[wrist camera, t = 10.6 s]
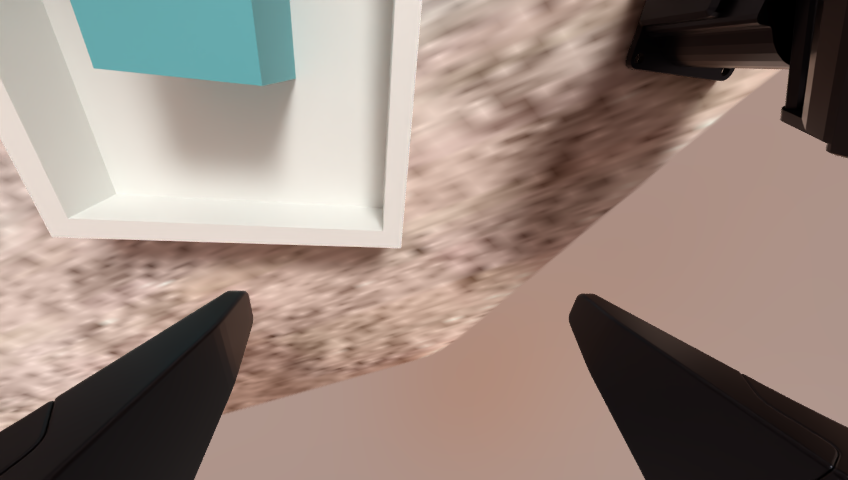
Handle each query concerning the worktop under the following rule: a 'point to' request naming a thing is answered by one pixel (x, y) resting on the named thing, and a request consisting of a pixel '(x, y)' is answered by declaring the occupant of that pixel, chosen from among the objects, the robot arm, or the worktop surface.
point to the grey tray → (216, 133)
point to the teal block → (191, 38)
